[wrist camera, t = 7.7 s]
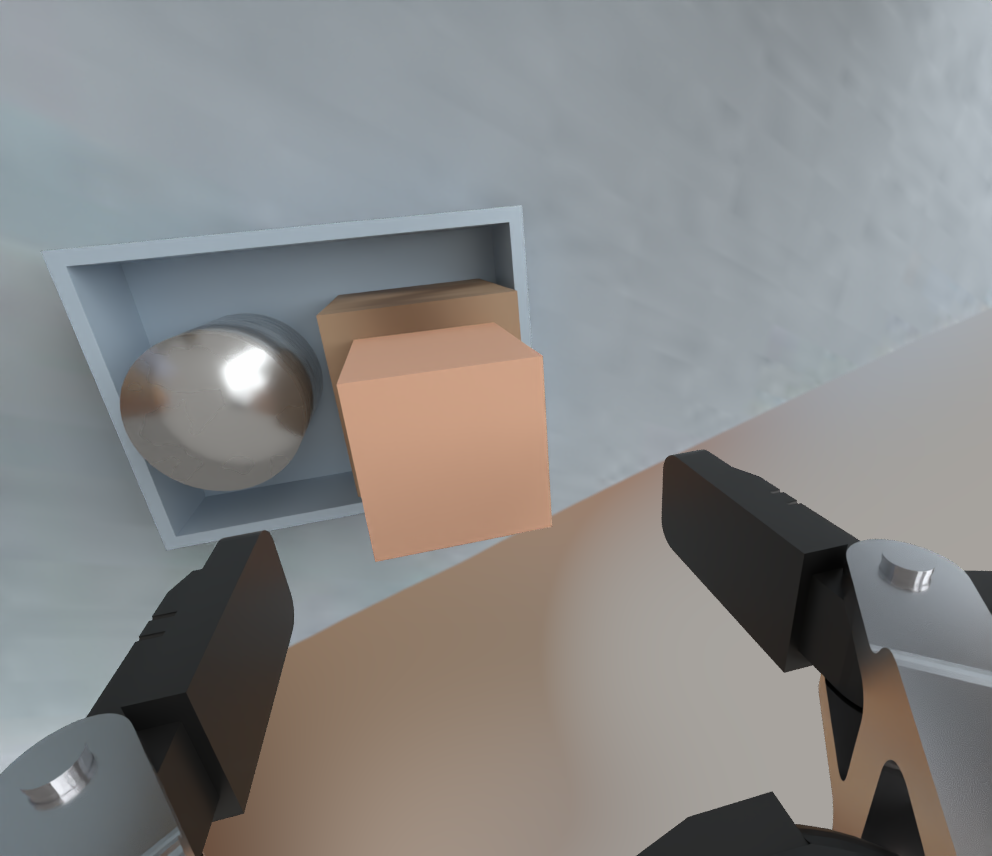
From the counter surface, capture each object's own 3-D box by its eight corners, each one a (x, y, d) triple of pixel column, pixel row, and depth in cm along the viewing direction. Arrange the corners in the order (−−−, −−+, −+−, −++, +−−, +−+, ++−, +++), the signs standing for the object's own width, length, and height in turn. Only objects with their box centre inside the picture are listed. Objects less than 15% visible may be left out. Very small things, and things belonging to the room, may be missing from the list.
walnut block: (478, 278, 25) (517, 290, 17) (492, 407, 27) (530, 465, 20) (338, 294, 23) (315, 315, 16) (366, 427, 26) (357, 497, 19)
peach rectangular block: (494, 322, 17) (542, 355, 12) (505, 447, 19) (552, 526, 14) (353, 339, 17) (336, 384, 11) (379, 468, 18) (375, 561, 13)
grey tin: (306, 305, 23) (281, 322, 18) (335, 426, 26) (320, 475, 20) (163, 322, 22) (90, 346, 17) (207, 447, 25) (155, 504, 19)
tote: (499, 212, 24) (521, 205, 20) (519, 446, 29) (541, 479, 25) (107, 250, 21) (40, 251, 17) (201, 503, 26) (166, 550, 22)
